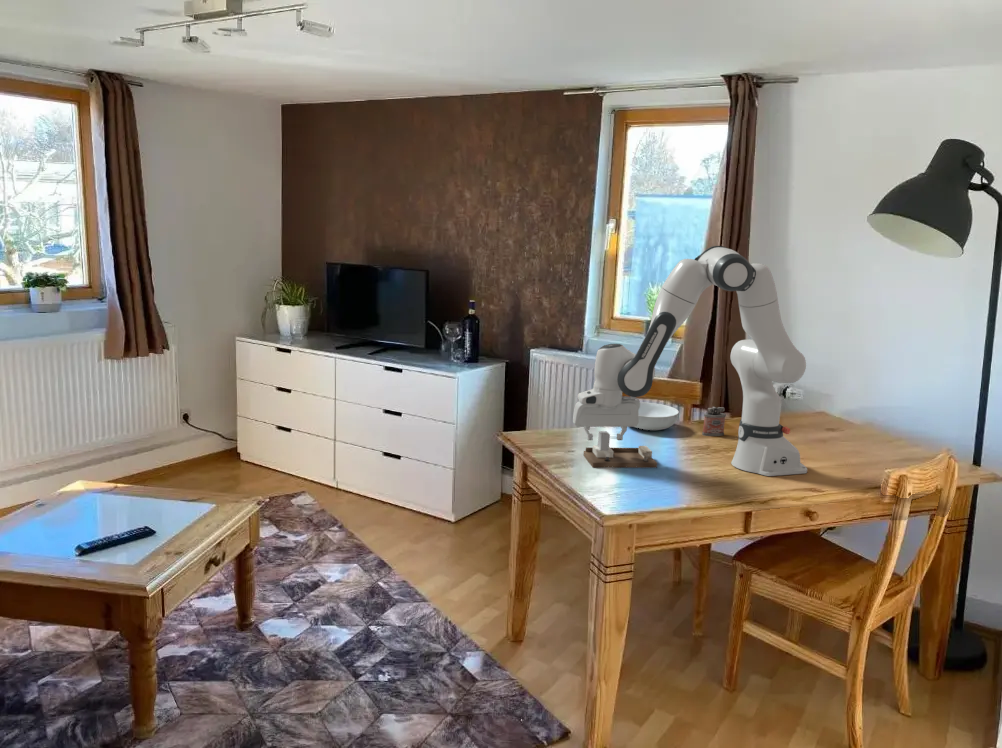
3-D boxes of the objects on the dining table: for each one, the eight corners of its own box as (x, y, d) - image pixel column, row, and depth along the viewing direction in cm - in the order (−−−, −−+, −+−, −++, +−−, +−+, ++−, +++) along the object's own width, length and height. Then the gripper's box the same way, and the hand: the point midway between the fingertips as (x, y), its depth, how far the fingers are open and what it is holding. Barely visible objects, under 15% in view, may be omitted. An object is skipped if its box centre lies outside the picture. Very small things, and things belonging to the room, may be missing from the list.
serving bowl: (608, 421, 296) (609, 403, 294) (657, 418, 303) (659, 401, 302) (637, 437, 277) (638, 417, 275) (688, 433, 284) (690, 414, 283)
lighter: (704, 436, 282) (707, 408, 280) (700, 433, 285) (703, 406, 283) (725, 435, 283) (728, 408, 281) (720, 433, 287) (723, 405, 285)
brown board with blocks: (644, 455, 255) (645, 444, 254) (656, 467, 244) (657, 455, 243) (583, 455, 252) (584, 444, 252) (592, 467, 241) (593, 455, 240)
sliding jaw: (607, 451, 252) (609, 430, 250) (615, 460, 243) (617, 438, 241) (592, 451, 251) (593, 430, 250) (599, 460, 242) (601, 438, 241)
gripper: (637, 394, 249) (634, 436, 252) (573, 393, 247) (570, 437, 250) (643, 399, 243) (640, 442, 246) (577, 398, 241) (574, 442, 243)
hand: (604, 439), depth 248 cm, fingers open, 8 cm apart
